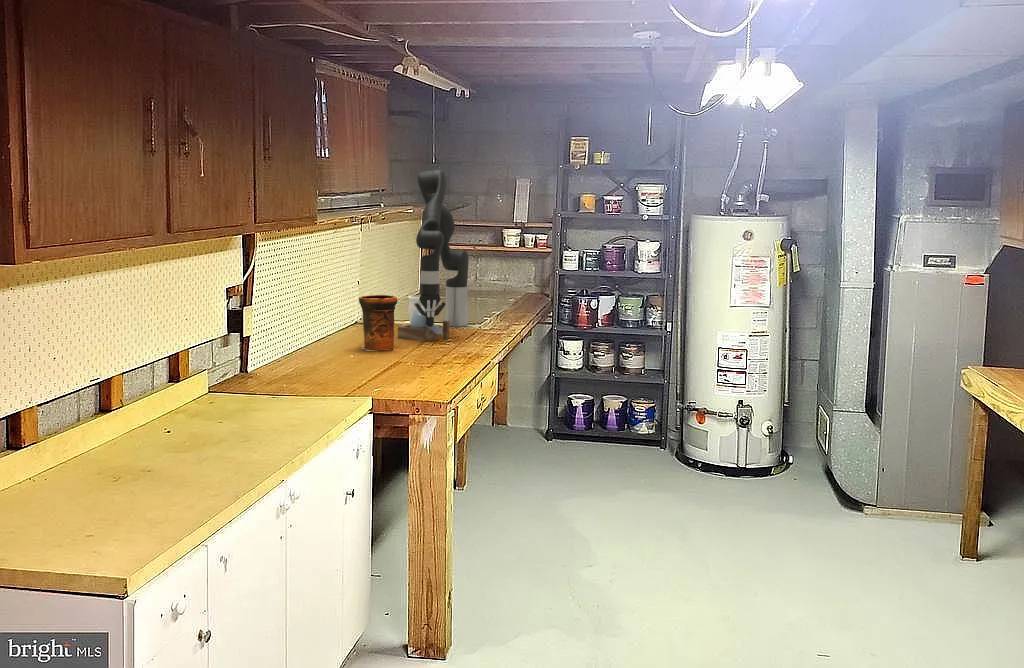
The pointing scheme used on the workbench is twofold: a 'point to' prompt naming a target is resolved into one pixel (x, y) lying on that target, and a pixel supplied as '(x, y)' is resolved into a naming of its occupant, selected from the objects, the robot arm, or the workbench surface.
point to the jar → (411, 306)
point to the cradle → (422, 333)
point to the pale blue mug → (422, 322)
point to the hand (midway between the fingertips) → (429, 326)
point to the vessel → (378, 321)
